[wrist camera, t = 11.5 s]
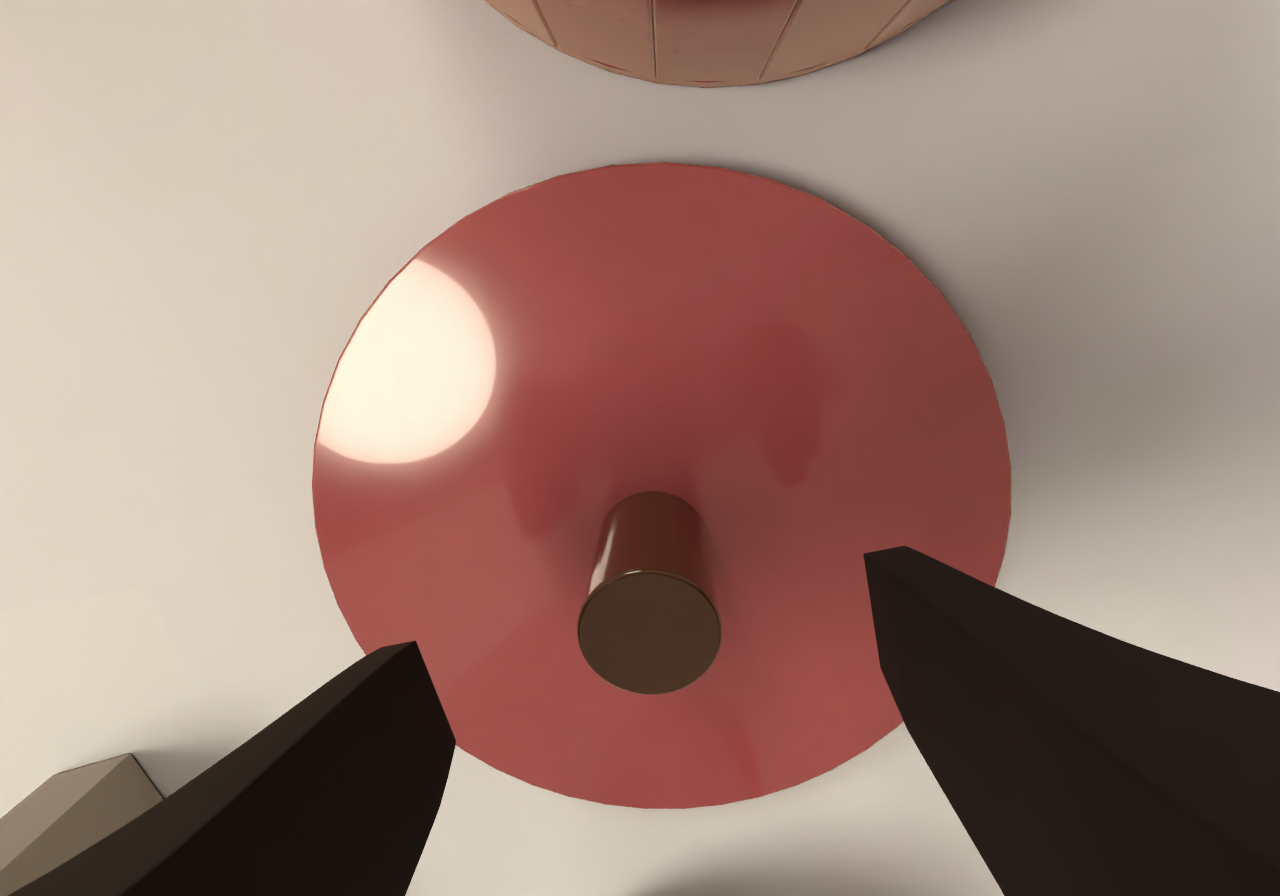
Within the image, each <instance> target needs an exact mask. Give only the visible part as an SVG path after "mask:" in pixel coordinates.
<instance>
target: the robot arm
mask: <svg viewBox="0 0 1280 896" xmlns="http://www.w3.org/2000/svg"><path fill="white" fill-rule="evenodd" d="M863 555H864V562H865V569H866V575H867V582H868V589H869V595H870V602H871V609H872V615H873V622H874V629H875V635H876V642H877V649H878V655H879V662H880V668H881V670H882V673H883V675H884V677H885V680H886V682H887V684H888V687H889V689H890V691H891V694H892V696H893V698H894V701H895V703H896V705H897V707H898V709H899V712H900V714H901V716H902V718H903V721H904V723H905V725H906V727H907V729H908V731H909V733H910V735H911V737H912V738H913V740H914V742H915V744H916V745H917V747H918V749H919V751H920V752H921V754H922V756H923V757H924V759H925V761H926V763H927V764H928V766H929V768H930V769H931V771H932V773H933V775H934V776H935V778H936V780H937V781H938V783H939V785H940V787H941V788H942V790H943V792H944V793H945V795H946V797H947V798H948V800H949V802H950V804H951V805H952V807H953V809H954V810H955V812H956V814H957V815H958V817H959V819H960V821H961V822H962V824H963V826H964V827H965V829H966V831H967V832H968V834H969V836H970V837H971V839H972V841H973V843H974V844H975V846H976V848H977V849H978V851H979V853H980V854H981V856H982V858H983V860H984V861H985V863H986V865H987V866H988V868H989V870H990V871H991V873H992V875H993V877H994V878H995V880H996V882H997V883H998V885H999V887H1000V888H1001V890H1002V892H1003V894H1004V896H1280V692H1277V691H1274V690H1270V689H1267V688H1264V687H1260V686H1257V685H1254V684H1250V683H1247V682H1243V681H1240V680H1237V679H1234V678H1230V677H1227V676H1224V675H1221V674H1218V673H1215V672H1212V671H1209V670H1206V669H1203V668H1200V667H1197V666H1194V665H1191V664H1188V663H1185V662H1182V661H1179V660H1176V659H1173V658H1170V657H1167V656H1164V655H1161V654H1158V653H1154V652H1152V651H1149V650H1146V649H1143V648H1141V647H1138V646H1135V645H1132V644H1130V643H1127V642H1124V641H1121V640H1119V639H1116V638H1113V637H1111V636H1108V635H1106V634H1103V633H1101V632H1098V631H1096V630H1093V629H1091V628H1088V627H1086V626H1083V625H1081V624H1078V623H1076V622H1073V621H1071V620H1068V619H1066V618H1063V617H1061V616H1058V615H1056V614H1054V613H1051V612H1049V611H1047V610H1044V609H1042V608H1040V607H1037V606H1035V605H1033V604H1030V603H1028V602H1026V601H1024V600H1021V599H1019V598H1017V597H1015V596H1012V595H1010V594H1008V593H1006V592H1004V591H1002V590H999V589H997V588H995V587H993V586H991V585H989V584H986V583H984V582H982V581H980V580H978V579H976V578H974V577H972V576H970V575H968V574H965V573H963V572H961V571H959V570H957V569H955V568H953V567H951V566H949V565H947V564H945V563H943V562H940V561H938V560H936V559H934V558H932V557H930V556H928V555H926V554H924V553H921V552H919V551H917V550H915V549H912V548H910V547H907V546H900V547H894V548H889V549H884V550H879V551H874V552H869V553H864V554H863ZM455 745H456V739H455V737H454V734H453V732H452V729H451V727H450V724H449V722H448V719H447V717H446V714H445V712H444V709H443V707H442V704H441V702H440V699H439V697H438V695H437V692H436V690H435V687H434V685H433V682H432V680H431V677H430V675H429V672H428V670H427V667H426V665H425V662H424V660H423V657H422V655H421V652H420V650H419V647H418V645H417V642H416V640H415V641H410V642H405V643H400V644H395V645H389V646H384V647H381V648H379V649H377V650H375V651H374V652H372V653H370V654H368V655H367V656H365V657H363V658H362V659H360V660H359V661H357V662H356V663H354V664H353V665H351V666H350V667H348V668H347V669H346V670H344V671H343V672H341V673H340V674H338V675H337V676H336V677H334V678H333V679H331V680H330V681H329V682H327V683H326V684H324V685H323V686H322V687H320V688H319V689H318V690H316V691H315V692H313V693H312V694H311V695H309V696H308V697H307V698H305V699H304V700H303V701H301V702H300V703H298V704H297V705H296V706H294V707H293V708H292V709H290V710H289V711H288V712H286V713H285V714H284V715H282V716H281V717H279V718H278V719H277V720H275V721H274V722H273V723H271V724H270V725H269V726H267V727H266V728H265V729H263V730H262V731H260V732H259V733H258V734H256V735H255V736H254V737H252V738H251V739H250V740H248V741H247V742H245V743H244V744H242V745H241V746H240V747H238V748H237V749H235V750H234V751H232V752H231V753H230V754H228V755H227V756H225V757H224V758H223V759H221V760H220V761H218V762H217V763H215V764H214V765H213V766H211V767H210V768H208V769H207V770H205V771H204V772H203V773H201V774H200V775H198V776H197V777H196V778H194V779H193V780H191V781H190V782H188V783H187V784H186V785H184V786H183V787H181V788H180V789H178V790H177V791H176V792H174V793H173V794H171V795H170V796H168V797H167V798H165V799H164V800H162V801H161V802H159V803H158V804H156V805H155V806H153V807H152V808H150V809H149V810H147V811H146V812H144V813H143V814H141V815H140V816H138V817H137V818H135V819H133V820H132V821H130V822H129V823H127V824H126V825H124V826H123V827H121V828H119V829H118V830H116V831H115V832H113V833H111V834H110V835H108V836H107V837H105V838H103V839H102V840H100V841H99V842H97V843H95V844H94V845H92V846H91V847H89V848H87V849H86V850H84V851H83V852H81V853H79V854H78V855H76V856H75V857H73V858H71V859H70V860H68V861H66V862H65V863H63V864H61V865H60V866H58V867H56V868H55V869H53V870H51V871H50V872H48V873H46V874H45V875H43V876H41V877H39V878H38V879H36V880H34V881H32V882H31V883H29V884H27V885H25V886H23V887H22V888H20V889H18V890H16V891H15V892H13V893H11V894H9V895H8V896H405V894H406V892H407V889H408V887H409V884H410V882H411V879H412V877H413V874H414V872H415V869H416V867H417V864H418V862H419V859H420V857H421V854H422V851H423V849H424V846H425V844H426V841H427V839H428V836H429V833H430V831H431V828H432V826H433V823H434V820H435V818H436V815H437V812H438V810H439V807H440V804H441V800H442V797H443V793H444V789H445V786H446V782H447V778H448V774H449V770H450V766H451V762H452V757H453V753H454V749H455Z"/></svg>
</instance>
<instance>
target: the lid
mask: <svg viewBox="0 0 1280 896" xmlns="http://www.w3.org/2000/svg"><path fill="white" fill-rule="evenodd" d="M312 492H313V505H314V517H315V528H316V533H317V537H318V542H319V546H320V551H321V556H322V560H323V565H324V568H325V571H326V574H327V577H328V579H329V582H330V585H331V588H332V590H333V593H334V596H335V599H336V601H337V604H338V606H339V608H340V610H341V612H342V614H343V616H344V618H345V620H346V622H347V624H348V626H349V628H350V630H351V632H352V633H353V635H354V637H355V639H356V641H357V642H358V644H359V645H360V647H361V648H362V650H363V651H364V653H365V654H366V656H367V655H368V654H370V653H372V652H374V651H375V650H377V649H379V648H381V647H384V646H389V645H395V644H400V643H405V642H410V641H415V640H416V642H417V645H418V647H419V650H420V652H421V655H422V657H423V660H424V662H425V665H426V667H427V670H428V672H429V675H430V677H431V680H432V682H433V685H434V687H435V690H436V692H437V695H438V697H439V699H440V702H441V704H442V707H443V709H444V712H445V714H446V717H447V719H448V722H449V724H450V727H451V729H452V732H453V734H454V737H455V739H456V745H457V746H458V747H459V748H461V749H462V750H464V751H465V752H467V753H469V754H471V755H472V756H474V757H476V758H478V759H479V760H481V761H483V762H485V763H486V764H488V765H490V766H492V767H493V768H495V769H497V770H499V771H502V772H504V773H506V774H508V775H511V776H513V777H515V778H517V779H520V780H522V781H524V782H527V783H529V784H531V785H534V786H537V787H540V788H543V789H546V790H550V791H553V792H556V793H559V794H562V795H565V796H568V797H573V798H578V799H583V800H587V801H592V802H597V803H602V804H606V805H616V806H625V807H635V808H644V809H685V808H695V807H705V806H715V805H723V804H728V803H733V802H738V801H743V800H748V799H753V798H757V797H761V796H764V795H768V794H771V793H774V792H777V791H780V790H783V789H787V788H790V787H793V786H796V785H798V784H801V783H803V782H805V781H808V780H810V779H812V778H814V777H817V776H819V775H821V774H823V773H826V772H828V771H830V770H833V769H834V768H836V767H838V766H839V765H841V764H843V763H845V762H846V761H848V760H850V759H851V758H853V757H855V756H857V755H858V754H860V753H862V752H864V751H865V750H867V749H868V748H870V747H871V746H872V745H874V744H875V743H876V742H878V741H879V740H880V739H882V738H883V737H884V736H886V735H887V734H888V733H890V732H891V731H892V730H894V729H895V728H896V727H898V726H899V725H900V724H901V723H902V722H903V718H902V716H901V714H900V712H899V709H898V707H897V705H896V703H895V701H894V698H893V696H892V694H891V691H890V689H889V687H888V684H887V682H886V680H885V677H884V675H883V673H882V670H881V668H880V662H879V655H878V649H877V642H876V635H875V629H874V622H873V615H872V609H871V602H870V595H869V589H868V582H867V575H866V569H865V562H864V555H863V554H864V553H869V552H874V551H879V550H884V549H889V548H894V547H900V546H907V547H910V548H912V549H915V550H917V551H919V552H921V553H924V554H926V555H928V556H930V557H932V558H934V559H936V560H938V561H940V562H943V563H945V564H947V565H949V566H951V567H953V568H955V569H957V570H959V571H961V572H963V573H965V574H968V575H970V576H972V577H974V578H976V579H978V580H980V581H982V582H984V583H986V584H989V585H991V586H993V587H995V585H996V581H997V578H998V575H999V571H1000V568H1001V565H1002V561H1003V558H1004V555H1005V548H1006V541H1007V535H1008V528H1009V522H1010V515H1011V464H1010V457H1009V450H1008V443H1007V436H1006V430H1005V423H1004V420H1003V417H1002V413H1001V410H1000V407H999V403H998V400H997V397H996V394H995V390H994V387H993V384H992V380H991V378H990V376H989V373H988V371H987V369H986V367H985V365H984V363H983V361H982V359H981V357H980V355H979V352H978V350H977V348H976V346H975V344H974V342H973V340H972V338H971V336H970V334H969V333H968V331H967V330H966V328H965V327H964V325H963V324H962V322H961V321H960V320H959V318H958V317H957V315H956V314H955V312H954V311H953V309H952V308H951V306H950V305H949V303H948V302H947V300H946V299H945V298H944V296H943V295H942V294H941V293H940V291H939V290H938V289H937V288H936V287H935V286H934V285H933V284H932V283H931V282H930V281H929V280H928V279H927V277H926V276H925V275H924V274H923V273H922V272H921V271H920V270H919V269H918V268H917V267H916V266H915V265H914V263H913V262H912V261H911V260H910V259H909V258H908V257H906V256H905V255H904V254H903V253H901V252H900V251H899V250H898V249H896V248H895V247H894V246H893V245H891V244H890V243H889V242H888V241H886V240H885V239H884V238H883V237H881V236H880V235H879V234H878V233H876V232H875V231H874V230H873V229H871V228H870V227H869V226H867V225H866V224H864V223H862V222H861V221H859V220H857V219H855V218H854V217H852V216H850V215H848V214H847V213H845V212H843V211H842V210H840V209H838V208H836V207H835V206H833V205H831V204H830V203H828V202H826V201H824V200H823V199H820V198H818V197H815V196H813V195H810V194H808V193H805V192H803V191H800V190H798V189H795V188H793V187H790V186H788V185H785V184H783V183H780V182H778V181H775V180H772V179H768V178H764V177H760V176H756V175H751V174H747V173H743V172H739V171H735V170H731V169H726V168H722V167H715V166H704V165H693V164H682V163H671V162H658V163H639V164H620V165H609V166H604V167H599V168H594V169H589V170H584V171H579V172H574V173H569V174H564V175H559V176H556V177H553V178H550V179H548V180H545V181H542V182H539V183H536V184H534V185H531V186H528V187H525V188H522V189H519V190H517V191H514V192H511V193H509V194H507V195H505V196H503V197H501V198H499V199H497V200H495V201H494V202H492V203H490V204H488V205H486V206H484V207H482V208H480V209H478V210H476V211H475V212H473V213H471V214H469V215H467V216H465V217H463V218H462V219H461V220H459V221H458V222H457V223H455V224H454V225H453V226H451V227H450V228H448V229H447V230H446V231H444V232H443V233H442V234H440V235H439V236H438V237H436V238H435V239H433V240H432V241H431V242H429V243H428V244H427V245H425V246H424V247H423V248H422V249H421V250H420V251H419V252H418V253H417V254H416V255H415V256H414V257H413V258H412V259H411V260H410V261H409V262H408V263H407V264H406V265H405V266H404V267H403V268H402V269H400V270H399V271H398V272H397V273H396V274H395V275H394V276H393V277H392V278H391V279H390V280H389V282H388V283H387V284H386V286H385V287H384V288H383V290H382V291H381V292H380V294H379V295H378V296H377V298H376V299H375V300H374V301H373V303H372V304H371V305H370V307H369V308H368V309H367V311H366V312H365V313H364V315H363V316H362V317H361V319H360V321H359V323H358V324H357V326H356V328H355V330H354V332H353V334H352V336H351V337H350V339H349V341H348V343H347V345H346V347H345V348H344V350H343V352H342V354H341V356H340V358H339V360H338V363H337V365H336V368H335V371H334V373H333V376H332V379H331V382H330V384H329V387H328V390H327V393H326V395H325V398H324V401H323V405H322V410H321V415H320V420H319V425H318V430H317V434H316V439H315V445H314V461H313V478H312Z"/></svg>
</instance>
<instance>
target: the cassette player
mask: <svg viewBox="0 0 1280 896" xmlns="http://www.w3.org/2000/svg"><path fill="white" fill-rule="evenodd" d="M162 800H163V798H162V797H161V795H160V794H159V793H158V791H157V790H156V789H155V787H154V786H153V784H152V783H151V782H150V780H149V779H148V777H147V776H146V775H145V773H144V772H143V770H142V769H141V768H140V766H139V765H138V764H137V762H136V761H135V759H134V758H133V757H132V755H131V754H126V755H123V756H119V757H116V758H112V759H108V760H105V761H101V762H98V763H94V764H91V765H87V766H84V767H80V768H77V769H73V770H70V771H66V772H63V773H59V774H56V775H53V776H52V777H50V778H49V779H48V780H47V781H46V782H44V783H43V784H42V785H41V786H40V787H38V788H37V789H36V790H35V791H34V792H32V793H31V794H30V795H29V796H28V797H26V798H25V799H24V800H23V801H22V802H20V803H19V804H18V805H17V806H16V807H14V808H13V809H12V810H11V811H9V812H8V813H7V814H6V815H5V816H3V817H2V818H1V819H0V896H8V895H9V894H11V893H13V892H15V891H16V890H18V889H20V888H22V887H23V886H25V885H27V884H29V883H31V882H32V881H34V880H36V879H38V878H39V877H41V876H43V875H45V874H46V873H48V872H50V871H51V870H53V869H55V868H56V867H58V866H60V865H61V864H63V863H65V862H66V861H68V860H70V859H71V858H73V857H75V856H76V855H78V854H79V853H81V852H83V851H84V850H86V849H87V848H89V847H91V846H92V845H94V844H95V843H97V842H99V841H100V840H102V839H103V838H105V837H107V836H108V835H110V834H111V833H113V832H115V831H116V830H118V829H119V828H121V827H123V826H124V825H126V824H127V823H129V822H130V821H132V820H133V819H135V818H137V817H138V816H140V815H141V814H143V813H144V812H146V811H147V810H149V809H150V808H152V807H153V806H155V805H156V804H158V803H159V802H161V801H162Z"/></svg>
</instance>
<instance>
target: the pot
mask: <svg viewBox="0 0 1280 896" xmlns="http://www.w3.org/2000/svg"><path fill="white" fill-rule="evenodd" d="M484 1H485V2H486V3H487V4H489V5H490V6H491V7H493V8H494V9H495V10H496V11H498V12H499V13H500V14H502V15H503V16H504V17H505V18H507V19H508V20H509V21H511V22H512V23H513V24H514V25H516V26H517V27H519V28H520V29H522V30H524V31H526V32H527V33H529V34H531V35H533V36H534V37H536V38H538V39H539V40H541V41H543V42H545V43H546V44H548V45H550V46H551V47H553V48H555V49H557V50H558V51H560V52H562V53H564V54H567V55H569V56H572V57H574V58H577V59H579V60H582V61H584V62H587V63H589V64H591V65H594V66H596V67H599V68H601V69H604V70H606V71H609V72H613V73H617V74H621V75H625V76H630V77H634V78H638V79H642V80H646V81H650V82H654V83H662V84H673V85H684V86H695V87H722V86H738V85H755V84H760V83H765V82H770V81H775V80H780V79H784V78H789V77H794V76H799V75H804V74H807V73H810V72H813V71H816V70H818V69H821V68H824V67H827V66H830V65H832V64H835V63H838V62H841V61H844V60H846V59H849V58H852V57H855V56H857V55H859V54H861V53H863V52H864V51H866V50H868V49H870V48H872V47H874V46H876V45H878V44H880V43H882V42H884V41H886V40H888V39H890V38H892V37H894V36H896V35H897V34H899V33H901V32H903V31H905V30H906V29H908V28H909V27H911V26H912V25H914V24H915V23H917V22H918V21H920V20H921V19H922V18H924V17H925V16H927V15H928V14H930V13H931V12H933V11H934V10H936V9H937V8H939V7H940V6H941V5H943V4H944V3H946V2H948V1H949V0H484Z"/></svg>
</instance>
